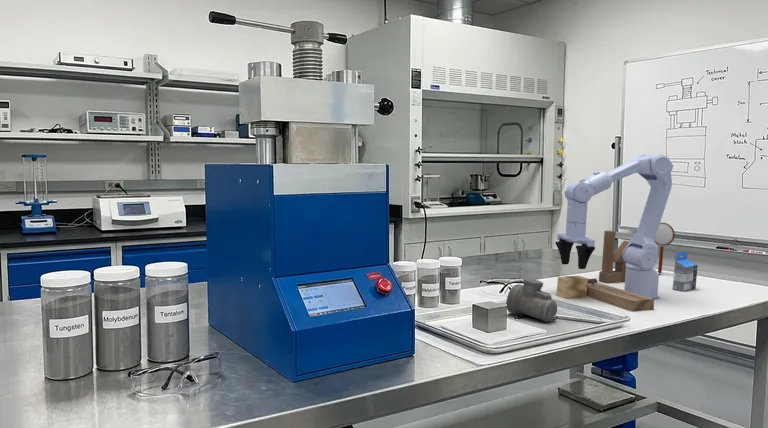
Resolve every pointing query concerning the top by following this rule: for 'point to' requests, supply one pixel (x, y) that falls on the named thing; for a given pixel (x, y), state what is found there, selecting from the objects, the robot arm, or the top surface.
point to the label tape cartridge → (684, 273)
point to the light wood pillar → (573, 286)
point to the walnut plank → (619, 297)
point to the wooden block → (612, 260)
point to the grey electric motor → (531, 300)
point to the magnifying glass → (663, 240)
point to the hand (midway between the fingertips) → (573, 266)
